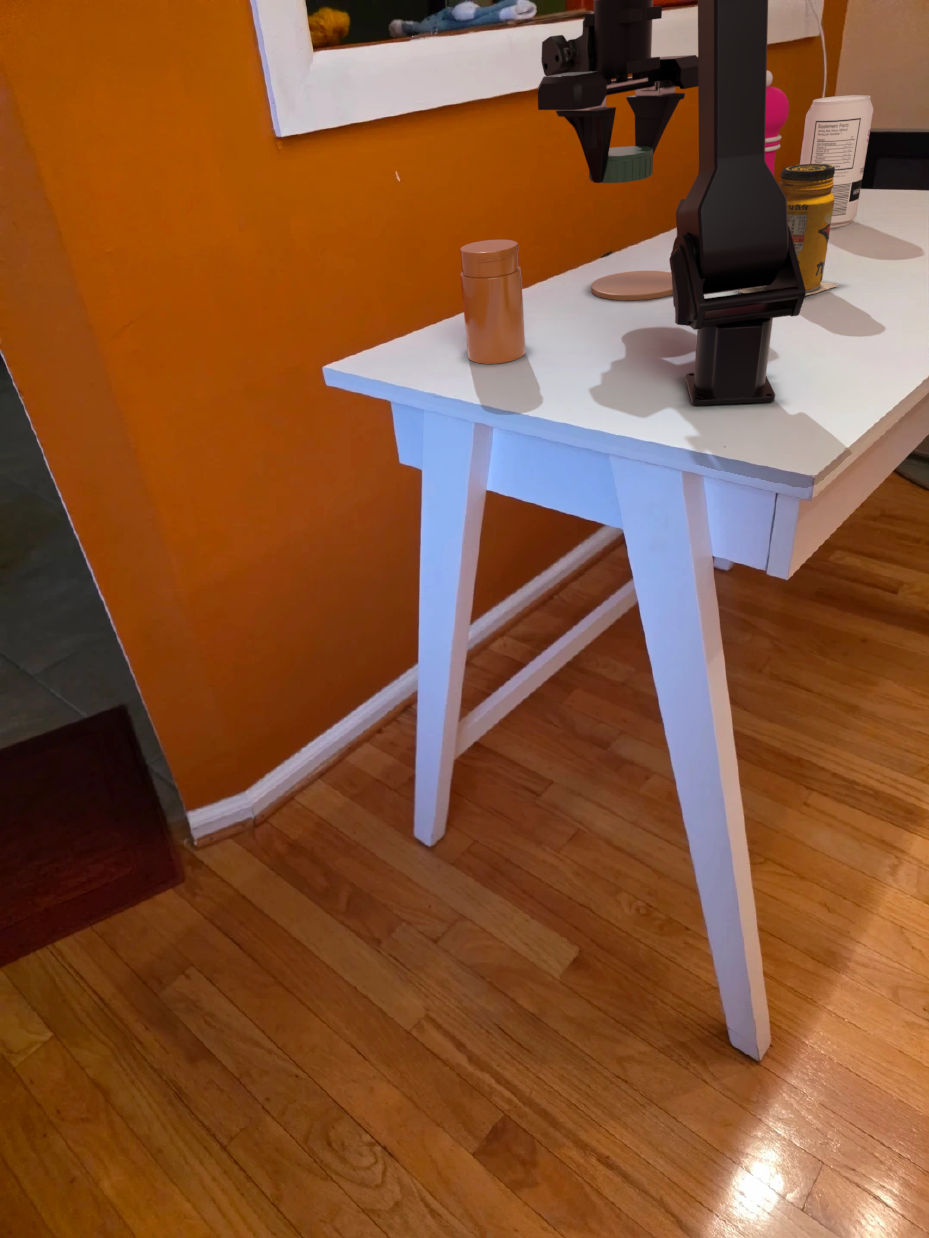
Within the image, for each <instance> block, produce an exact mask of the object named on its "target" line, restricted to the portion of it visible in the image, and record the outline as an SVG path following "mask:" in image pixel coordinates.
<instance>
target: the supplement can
mask: <svg viewBox="0 0 929 1238" xmlns="http://www.w3.org/2000/svg"><path fill="white" fill-rule="evenodd" d="M873 116H874V106H873V103H872V100H871V95H869V94H868V95H866V94H852V95H836V96H829V97H822V98H821V97H820V98H815V99H813V100H812V103H811V105H810V107H809V109H808V111H807V112H806V114H805V120H804V121H805V122H804V129H803V136H802V145H801V153H800V160H799V161H800V162H799V165H802V164H828V165H832V166H833V167H835V174H834V178H833V184H834V185H833V188H832V191H831V192H832V193H833V195H834V207H833V213H832V219H831V226H830V229H833V228H840V227H844V226H845V227H846V226H847V225H849V224H851V222H852V221H854V219H856V217H857V213H858V206H859V200H860V194H861V189H862V182H863V176H864V170H865V164H866V158H867V152H868V147H869V146H868V145H869V140H870V133H871V127H872V121H873Z"/></svg>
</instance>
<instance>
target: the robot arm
mask: <svg viewBox="0 0 929 1238" xmlns="http://www.w3.org/2000/svg"><path fill="white" fill-rule="evenodd" d="M660 19H663V5H655V6H654V0H593V12H592V13H586V14H584V18H583V20H582V32H581V35H580V36H578V37H576V38H571V39H568V40H567V39H566V37H565V35H563V34H558V35H557V34H556V35H551V36H548V37H547V38H546V39H544V40H543V41H541V57H540V59H541V60H540V61H541V66H542V70H543V71H542V72H543V75H544V76H543V77H542V79H541V80H540V83H539V84H538V86H537V110H538V111H555V113H556V115H557V117H559V118H564V119H565V120H566V121H567V122H568V123H569V124H570V125H571V126H572V127H573V129H574V131H575V133H576V135H577V139H578V140H579V143H580V146H581V149H582V152H583V155H584V158H585V161H586V164H587V167H588V172H589V171H590V174H591V177H592V180H593V182H592V183H594V184H603V183H602V182H603V178H604V174H605V170H606V166H607V160H608V154H609V148H611V143H612V142H611V141H612V135H613V128H614V123H615V118H616V112H617V107H616V106H607V96H613V95H616V94H622V93H627V92H633V91H634V95H628V96H626V97H625V99H626V101H627V103H628V105H629V107H630V108H631V111H632V113H633V115H634V144H635V145H634V146H646V147H651V148H653V155H654V154H655V152H656V150H657V147H658V145H659V143H660V141H661V138H662V136H663V134H664V133H665V130H666V128H667V126H668V125H669V122H670V121H671V119H672V116H673V114H674V112H675V110H676V108H677V107H678V105H679V103H680V101H681V100H685V96H686V92H676V88H677V87H679V89H680V90H687V89H692V88H697V90H698V91H697V92H698V94H697V95H698V96H697V97H698V102H697V103H698V104H697V105H698V107H697V108H698V109H697V110H698V172H697V176H696V177H695V180H694V182H693V183H692V185H691V187H690V189H689V191H688V193H687V195H686V197H685V198H683V199H681V200H680V201H679V203H678V205H677V208H676V210H675V222H676V224H675V225H676V237H675V238H674V241H673V245H672V250H671V253H670V257H669V259H668V260H669V261H668V262H669V267H670V273H671V274H672V288H673V294H672V303H673V308H674V314H675V316H674V317H675V318H674V324H676V325H678V326H686V327H690V328H691V329H692V330H695V331H696V330H697V331H696V345H695V359H694V360H695V362H694V372H687V373H686V374H685V382H686V387H687V389H688V390H687V391H688V394H689V398H690V402H691V404H692V405H696V406H707V405H708V406H709V405H710V406H711V405H729V404H730V405H731V404H732V405H733V404H734V405H735V404H753V403H756V404H757V403H772V402H775V400H776V393H775V391H774V389H773V387H772V384H771V383H770V381H769V379H768V376H767V371H768V370H767V369H768V363H769V362H768V361H769V354H770V345H771V338H772V329H773V321H774V319H776V318H783V317H798V316H799V315H800V314H801V309H802V307H803V304H804V301H805V299H806V298H805V297H806V296H805V294H806V290H805V286H804V282H803V278H802V274H801V270H800V267H799V263H798V259H797V255H796V251H795V247H794V243H793V239H792V235H791V231H790V229H789V226H788V218H787V199H786V196H785V194H784V192H783V191H782V189H781V187H780V186H779V184H780V183H779V182H778V181H777V179H776V178H775V177H776V176H775V175H774V176H773V174H772V172H771V170H770V169H769V167H768V165H767V164H766V161H765V129H766V81H767V71H768V28H769V27H768V25H769V23H768V22H769V0H697V54H689V55H668V56H652V46H653V45H652V43H653V41H652V40H653V21H654V20H660ZM629 75H631V76H629ZM766 286H767V290H765V291H757V292H750V293H736V294H728V295H727V294H726V295H722V296H721V295H720V296H713V297H706V298H705V295H713V294H720V293H727V292H735V291H737V290H744V289H751V288H759V287H766Z"/></svg>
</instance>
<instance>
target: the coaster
mask: <svg viewBox="0 0 929 1238" xmlns="http://www.w3.org/2000/svg"><path fill="white" fill-rule="evenodd" d="M590 292H591V293H592V294H593V295H594V296H596V297H598V298H603V299H606V300H613V301H614V300H615V301H642V300H643V301H644V300H645V301H646V300H652V299H659V298H664V297H668V296H671V295H672V296H673V288H672V274H671V271H670V272H669V271H661V270H633V271H623V272H617V273H613V274H609V275H604V276H602V277H599V278H597V279H595V280H594V281H593V282H592V283H591V284H590Z"/></svg>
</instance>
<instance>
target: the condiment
mask: <svg viewBox="0 0 929 1238" xmlns="http://www.w3.org/2000/svg"><path fill="white" fill-rule="evenodd" d="M834 174H835V167H833V166H832V165H828V164H802V165H800V164H795V165H791V166H786V167H783V168H782V170H781V173H780V174H779V176H780V182H779V183H778V184H779V186H780V187H781V189H782V191H783V192H784V194H785V196H786V199H787V218H788V226H789V229H790V231H791V235H792V239H793V243H794V247H795V251H796V255H797V259H798V263H799V267H800V270H801V274H802V278H803V282H804V286H805V290H806V294H805V297H807V296H809V295H814V294H818V293H820V292H823V291H827V290H830V289H833V288H835V287H837V286H838V285H839V283H835V282H834V283H833V282H828V281H827V282H826V281H825V282H823V277H824V272H825V271H824V270H825V267H826V266H825V264H826V260H827V253H828V252H827V251H828V244H829V240H830V232H831V228H830V226H831V219H832V213H833V207H834V195H833V193H832V192H831V191H832V188H833V185H834V184H833V178H834ZM765 290H767V286H766V287H759V288H751V289H744V290H736V291H737V292H740V294H742V293H750V292H757V291H765Z"/></svg>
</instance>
